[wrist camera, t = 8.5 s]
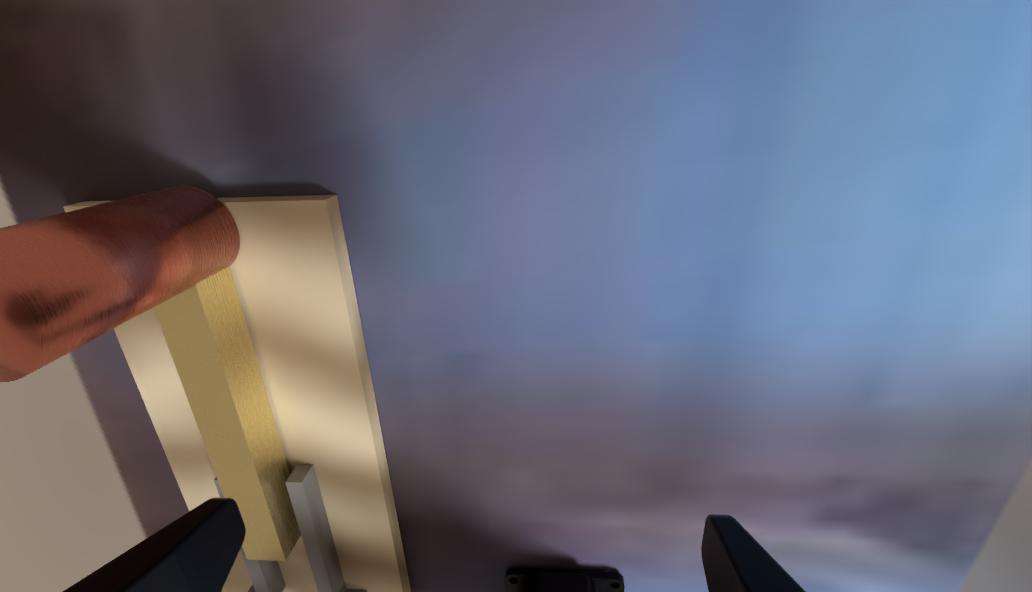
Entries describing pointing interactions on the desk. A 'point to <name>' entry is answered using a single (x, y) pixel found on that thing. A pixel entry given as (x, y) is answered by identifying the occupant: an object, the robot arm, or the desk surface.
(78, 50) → the desk surface
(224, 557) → the robot arm
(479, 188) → the desk surface
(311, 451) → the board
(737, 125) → the desk surface
